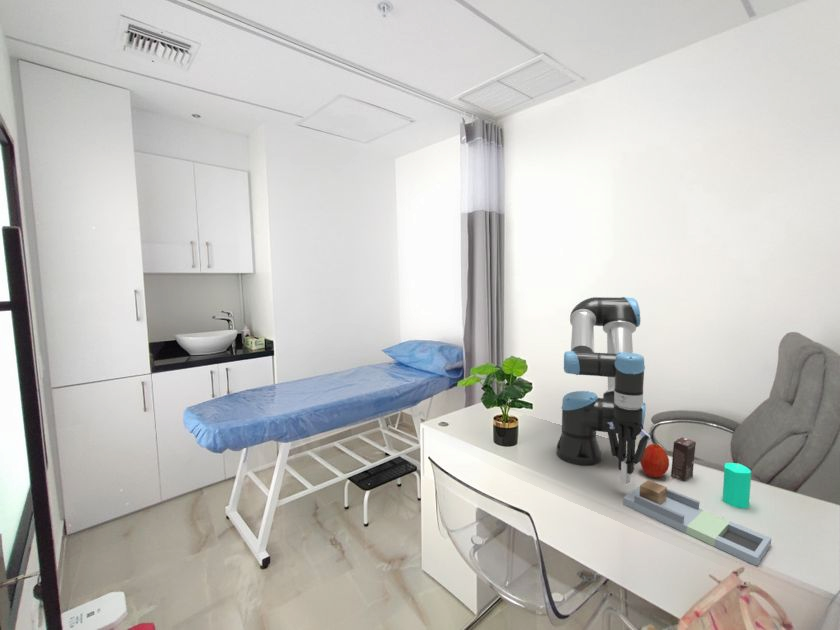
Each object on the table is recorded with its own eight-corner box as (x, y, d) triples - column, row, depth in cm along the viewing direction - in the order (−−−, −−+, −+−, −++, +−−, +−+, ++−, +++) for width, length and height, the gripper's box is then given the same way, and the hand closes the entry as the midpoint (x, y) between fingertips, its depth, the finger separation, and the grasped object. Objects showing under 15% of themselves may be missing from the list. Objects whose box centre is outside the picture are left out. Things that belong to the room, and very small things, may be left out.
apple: (672, 483, 122) (674, 450, 121) (643, 479, 125) (644, 447, 123) (664, 470, 130) (666, 439, 129) (637, 467, 132) (638, 437, 131)
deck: (623, 504, 112) (623, 491, 111) (641, 491, 118) (642, 478, 118) (756, 566, 88) (758, 549, 87) (770, 545, 94) (772, 530, 93)
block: (639, 498, 111) (639, 485, 110) (647, 492, 114) (648, 479, 113) (658, 506, 107) (658, 493, 106) (666, 500, 110) (666, 487, 109)
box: (686, 482, 122) (687, 446, 121) (670, 476, 126) (672, 441, 125) (694, 476, 126) (696, 441, 124) (679, 470, 129) (680, 436, 128)
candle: (724, 494, 116) (727, 455, 114) (750, 502, 111) (753, 462, 110) (720, 502, 112) (722, 462, 110) (746, 511, 107) (749, 470, 106)
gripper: (599, 402, 117) (597, 476, 119) (645, 415, 106) (642, 496, 109) (613, 397, 121) (610, 469, 124) (657, 409, 111) (654, 487, 113)
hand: (625, 481), depth 116 cm, fingers closed
